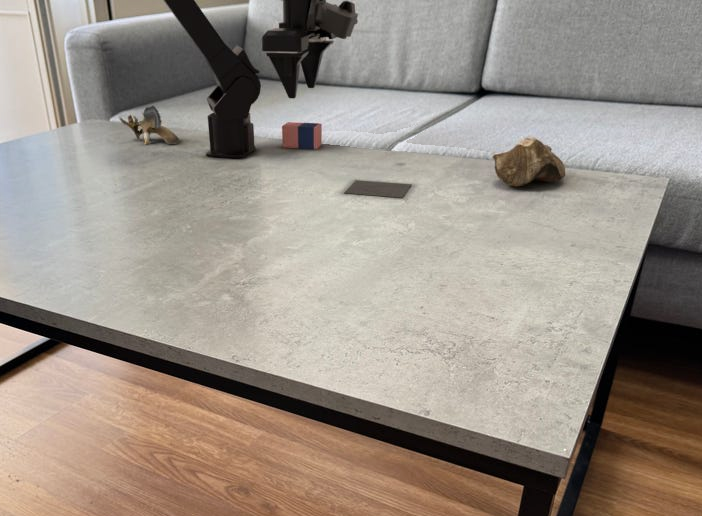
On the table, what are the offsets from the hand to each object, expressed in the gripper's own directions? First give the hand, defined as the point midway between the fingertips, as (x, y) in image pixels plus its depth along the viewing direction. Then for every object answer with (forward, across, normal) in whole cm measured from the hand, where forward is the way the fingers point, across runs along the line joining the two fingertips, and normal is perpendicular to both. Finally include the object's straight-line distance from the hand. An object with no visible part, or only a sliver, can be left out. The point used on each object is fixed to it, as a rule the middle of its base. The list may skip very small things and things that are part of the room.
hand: (302, 92), depth 113 cm
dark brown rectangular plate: (+9, -20, -18) cm, 28 cm away
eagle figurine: (+9, -3, +27) cm, 29 cm away
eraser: (+9, 0, 0) cm, 9 cm away
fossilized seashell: (+9, -11, -37) cm, 40 cm away
